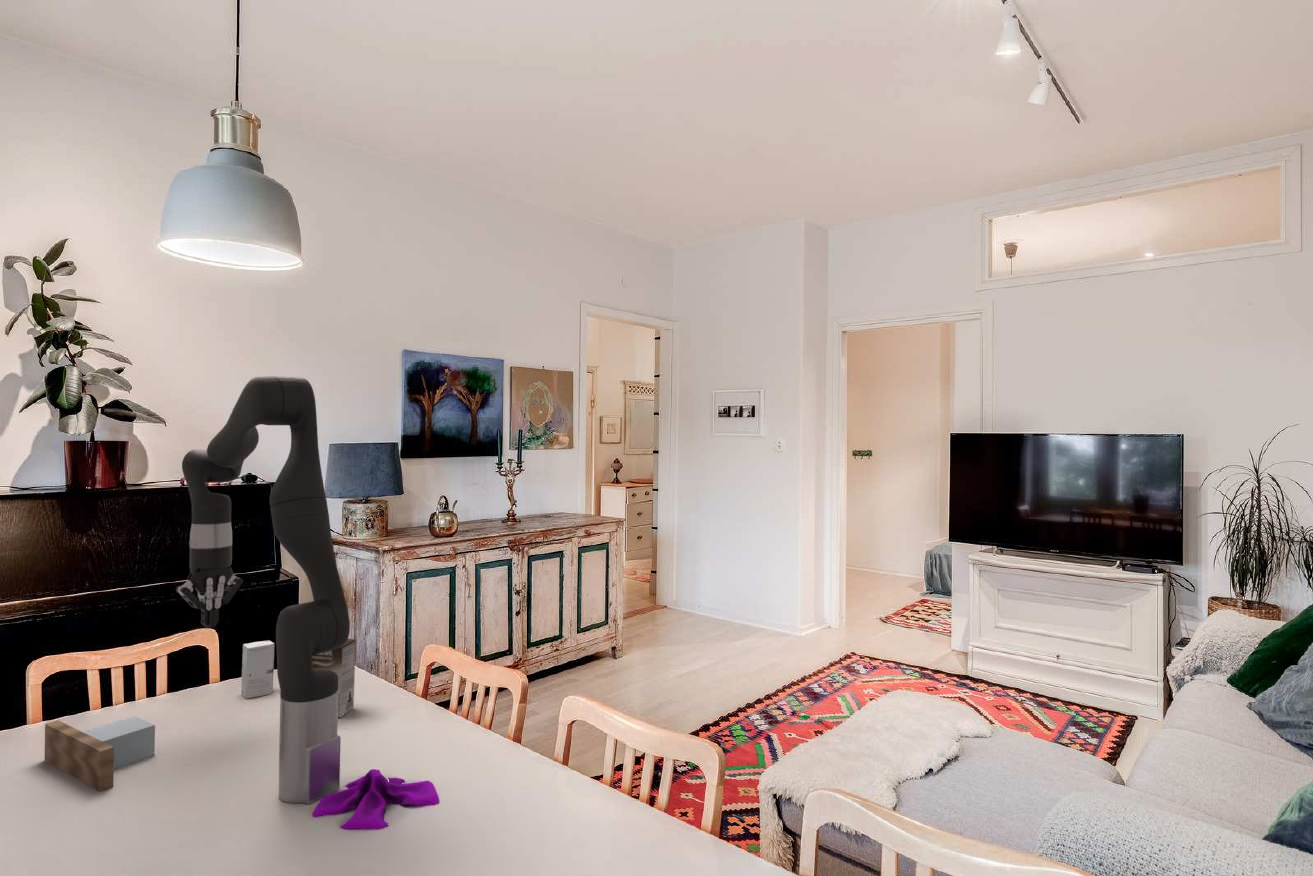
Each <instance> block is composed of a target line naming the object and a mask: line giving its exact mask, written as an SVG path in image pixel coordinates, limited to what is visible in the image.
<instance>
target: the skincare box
mask: <svg viewBox="0 0 1313 876" xmlns="http://www.w3.org/2000/svg"><path fill="white" fill-rule="evenodd" d="M241 657H242V661H241V664H242V666H241V693H240V694H241V696H242V697H243V696H244V697H243V698H244V699H245V700H246V699H251V698H258V697H261V696H267V695H271V694H273V692H274V669H275V667H274V666H275V664H274V663H275V643H274V642H272V641H271V640H269V639H268V640H262V641H253V642H249V643H243V644H242V656H241Z"/></svg>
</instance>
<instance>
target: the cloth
mask: <svg viewBox="0 0 1313 876" xmlns="http://www.w3.org/2000/svg"><path fill="white" fill-rule="evenodd" d="M386 778H388V779H389V782H388V780H387V779H386ZM405 782H406V781H405V779H403V778H400V777H385V776H384V775H383V774H382V773H381V771H380V769H377V768H371V769H370V770H369V771H367V773H366V774H364V776H360V777H359V778H357V779H355V780H353V781H350V782H348V783H346V784H345V785H344V787H345V788H346V787H347V788H346V789H345V788H344V789H343V790H338V791H335V792H332V793H330V794H328V795H326V796H324V797H322V798H320V799H319V801H318V803H317V804H316V807H315V808H314V810H313V811H312V812H311V813H312V814H311V817H312V818H315V819H316V818H321V817H325V816H336V815H343V814H348V813H351V812H352V811H353V810H354V813H353V814H352V816H351V817H350V818H349V819H348V820H347V821H346V822H344V823H343V824H341V825H340V829H341V830H345V831H346V830H347V831H353V830H356V831H358V830H363V831H366V830H374V829H375V830H384V829H386V828H388V827H390V824H389V823H388V822H387V821H386V820H385V814H384V813H386V809H387V806H388V805H399V806H400V807H403V806H404V807H409V806H414V807H417V806H419V807H425V806H427V807H428V806H436V804H437V805H439V804H440V803H439V802H440V799H439V795H438V793H437V789H436V786H435V785H434V783H433V782H432V781H430V780H423V781H417V782H416V781H415V782H409V783H405ZM402 783H403V784H402ZM384 820H385V821H384ZM388 824H389V825H388ZM385 827H386V828H385Z"/></svg>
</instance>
